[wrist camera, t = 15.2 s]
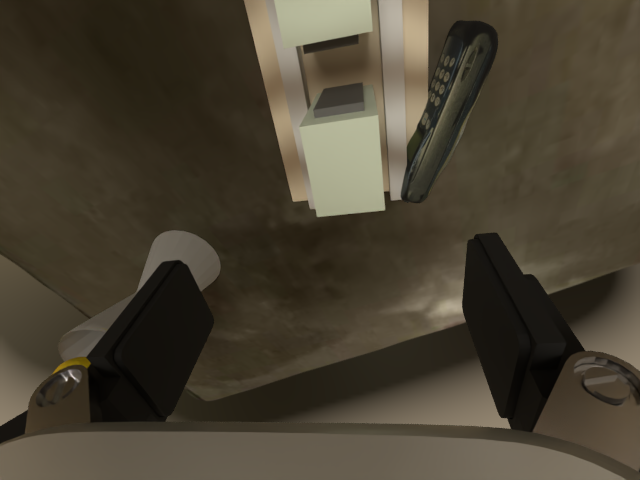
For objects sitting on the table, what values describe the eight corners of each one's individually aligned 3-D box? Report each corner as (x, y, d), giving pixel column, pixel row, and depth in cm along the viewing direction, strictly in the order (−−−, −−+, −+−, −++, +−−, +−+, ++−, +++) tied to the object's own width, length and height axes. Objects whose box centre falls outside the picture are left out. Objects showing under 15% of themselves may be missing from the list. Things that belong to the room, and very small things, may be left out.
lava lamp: (236, 263, 40) (-71, 879, 12) (196, 297, 44) (-104, 816, 16) (173, 215, 37) (-460, 892, 8) (137, 256, 41) (-374, 808, 13)
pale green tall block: (328, 162, 30) (317, 217, 22) (316, 86, 27) (297, 118, 19) (377, 156, 30) (385, 210, 21) (371, 77, 26) (377, 105, 18)
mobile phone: (469, 16, 21) (393, 220, 29) (514, 27, 21) (426, 227, 29) (446, 17, 25) (385, 195, 33) (484, 27, 25) (414, 201, 33)
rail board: (424, 180, 32) (452, 248, 23) (295, 195, 34) (270, 263, 25) (424, -107, 21) (477, -205, 12) (236, -57, 24) (153, -105, 14)
